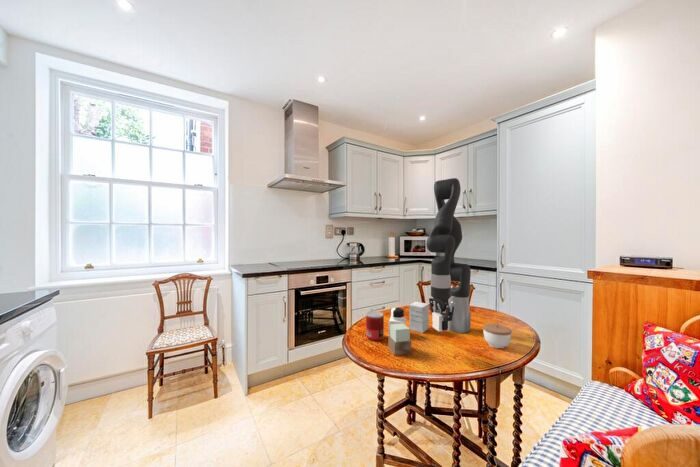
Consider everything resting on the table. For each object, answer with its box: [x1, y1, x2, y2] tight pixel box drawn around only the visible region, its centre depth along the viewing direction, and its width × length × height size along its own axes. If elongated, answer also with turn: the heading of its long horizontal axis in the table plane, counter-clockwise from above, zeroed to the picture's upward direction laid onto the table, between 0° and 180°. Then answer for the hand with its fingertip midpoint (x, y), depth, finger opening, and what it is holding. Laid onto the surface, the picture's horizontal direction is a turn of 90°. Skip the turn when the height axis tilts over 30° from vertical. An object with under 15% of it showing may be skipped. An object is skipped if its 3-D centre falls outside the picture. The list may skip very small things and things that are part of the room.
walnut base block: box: [387, 335, 412, 356], centre depth 106 cm, size 7×7×5 cm
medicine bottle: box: [388, 307, 407, 336], centre depth 122 cm, size 7×7×12 cm
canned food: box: [365, 311, 385, 342], centre depth 118 cm, size 8×8×11 cm
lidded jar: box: [482, 322, 513, 349], centre depth 110 cm, size 11×11×9 cm
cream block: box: [431, 311, 450, 332], centre depth 102 cm, size 5×5×6 cm
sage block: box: [389, 323, 411, 342], centre depth 106 cm, size 6×6×5 cm
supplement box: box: [408, 301, 430, 334], centre depth 128 cm, size 7×7×13 cm
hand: (440, 327), depth 102 cm, fingers closed on cream block, 4 cm apart
